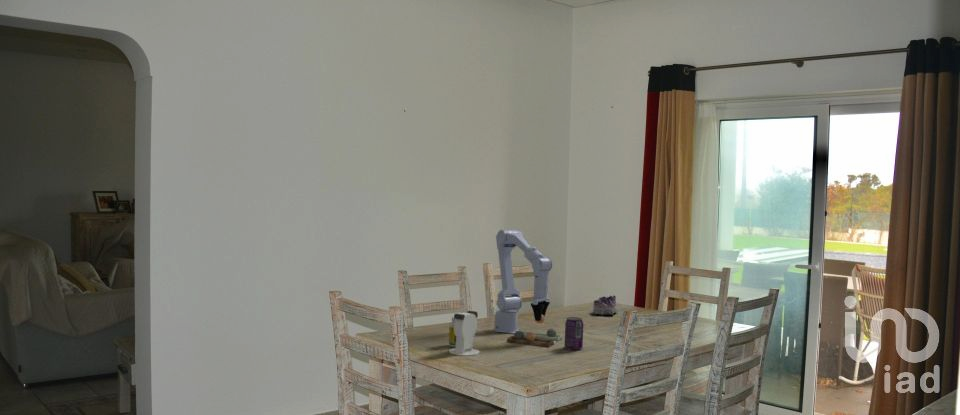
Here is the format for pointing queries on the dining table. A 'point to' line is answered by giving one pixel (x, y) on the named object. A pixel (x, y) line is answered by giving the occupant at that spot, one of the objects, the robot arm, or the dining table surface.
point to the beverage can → (574, 333)
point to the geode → (605, 306)
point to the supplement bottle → (452, 334)
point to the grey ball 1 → (518, 335)
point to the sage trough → (545, 336)
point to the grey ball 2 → (551, 333)
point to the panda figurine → (465, 333)
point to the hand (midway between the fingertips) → (539, 319)
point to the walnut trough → (536, 342)
